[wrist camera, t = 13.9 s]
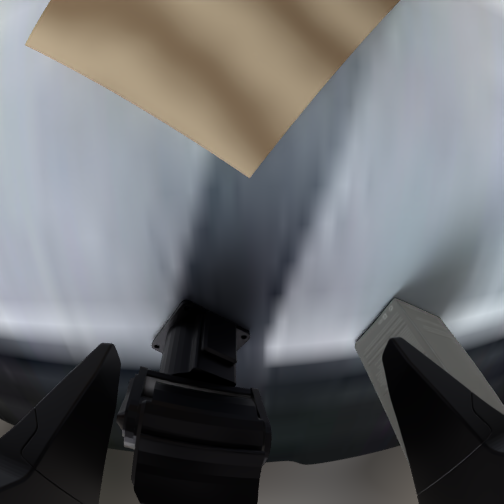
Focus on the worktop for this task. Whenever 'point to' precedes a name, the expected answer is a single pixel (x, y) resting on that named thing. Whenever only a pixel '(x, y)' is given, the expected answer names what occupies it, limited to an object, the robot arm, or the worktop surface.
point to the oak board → (211, 60)
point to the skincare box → (426, 341)
